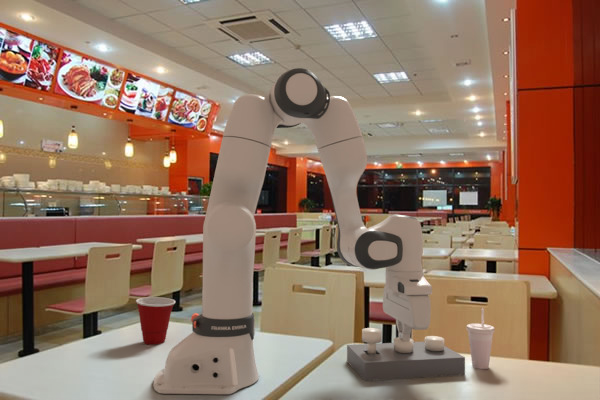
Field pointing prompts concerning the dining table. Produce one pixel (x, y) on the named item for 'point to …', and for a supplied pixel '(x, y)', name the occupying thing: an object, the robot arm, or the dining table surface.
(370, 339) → the knob
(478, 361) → the smoothie
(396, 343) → the knob middle
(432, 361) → the console
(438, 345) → the knob
